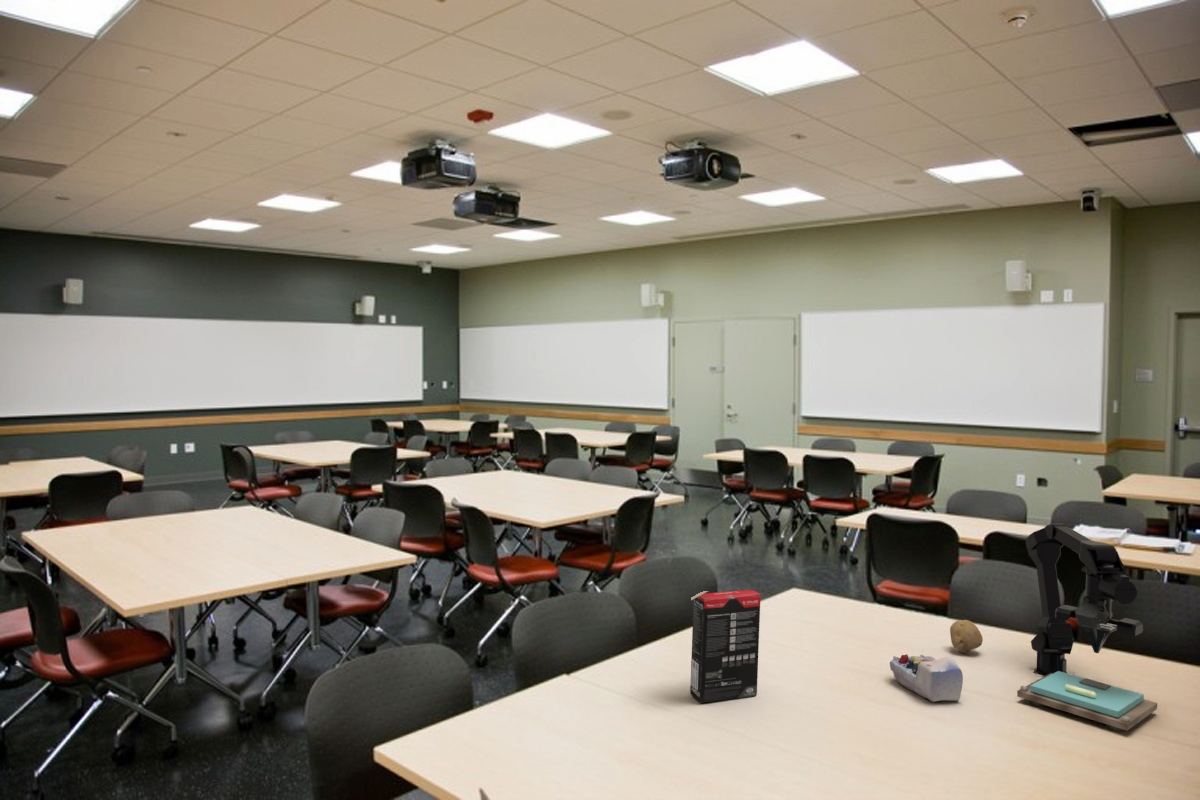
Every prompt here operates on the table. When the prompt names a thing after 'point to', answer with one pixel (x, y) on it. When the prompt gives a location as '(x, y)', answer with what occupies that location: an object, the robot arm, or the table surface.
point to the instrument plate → (1098, 704)
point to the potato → (965, 636)
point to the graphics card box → (725, 645)
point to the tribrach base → (1111, 722)
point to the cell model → (929, 676)
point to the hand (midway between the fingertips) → (1096, 652)
